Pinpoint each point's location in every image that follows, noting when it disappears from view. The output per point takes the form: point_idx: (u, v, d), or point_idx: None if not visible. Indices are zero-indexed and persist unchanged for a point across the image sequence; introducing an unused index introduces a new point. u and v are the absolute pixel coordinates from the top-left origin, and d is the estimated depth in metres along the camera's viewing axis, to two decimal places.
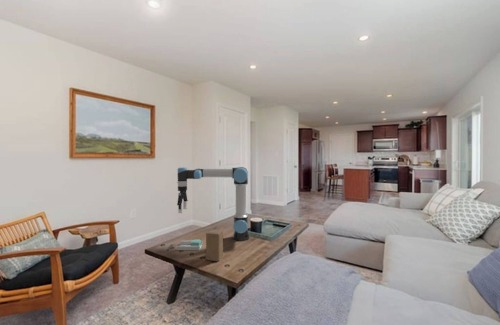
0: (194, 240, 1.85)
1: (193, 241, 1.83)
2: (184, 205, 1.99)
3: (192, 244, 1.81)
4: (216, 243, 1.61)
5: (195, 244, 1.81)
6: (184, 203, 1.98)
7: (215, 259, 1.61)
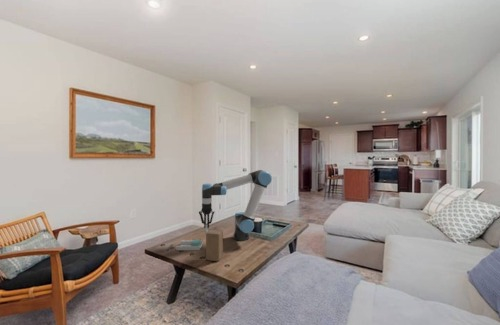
0: (194, 240, 1.85)
1: (193, 241, 1.83)
2: None
3: (192, 244, 1.81)
4: (216, 243, 1.61)
5: (195, 244, 1.81)
6: None
7: (215, 259, 1.61)
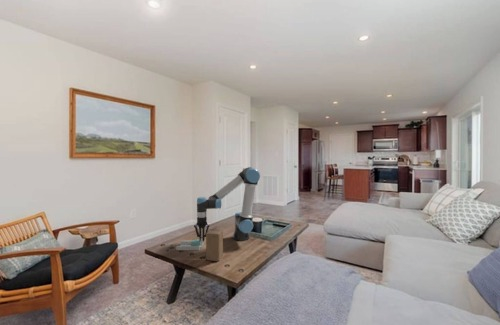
0: (194, 240, 1.85)
1: (193, 241, 1.83)
2: None
3: (192, 244, 1.81)
4: (216, 243, 1.61)
5: (195, 244, 1.81)
6: None
7: (215, 259, 1.61)
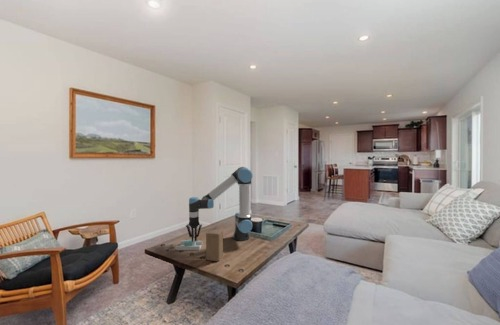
0: (187, 240, 1.85)
1: (186, 241, 1.83)
2: None
3: (185, 244, 1.81)
4: (216, 243, 1.61)
5: (188, 244, 1.81)
6: None
7: (215, 259, 1.61)
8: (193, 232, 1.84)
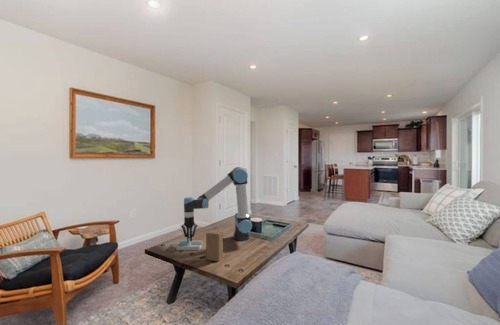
0: (183, 240, 1.85)
1: (182, 241, 1.83)
2: None
3: (181, 244, 1.81)
4: (216, 243, 1.61)
5: (184, 244, 1.81)
6: None
7: (215, 259, 1.61)
8: (188, 232, 1.84)
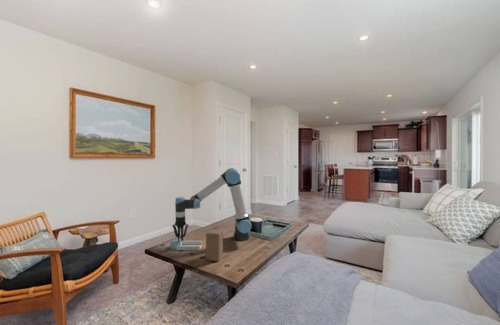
0: (174, 240, 1.86)
1: (172, 241, 1.84)
2: None
3: (171, 244, 1.81)
4: (216, 243, 1.61)
5: (174, 244, 1.81)
6: None
7: (215, 259, 1.61)
8: (179, 232, 1.84)
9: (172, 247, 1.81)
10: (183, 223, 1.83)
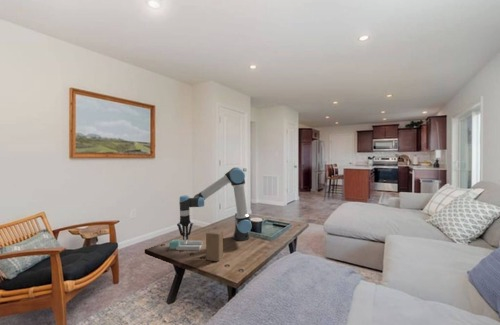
0: (173, 240, 1.86)
1: (172, 241, 1.83)
2: None
3: (170, 244, 1.81)
4: (216, 243, 1.61)
5: (173, 244, 1.81)
6: None
7: (215, 259, 1.61)
8: (184, 230, 1.85)
9: (171, 247, 1.81)
10: (188, 222, 1.83)
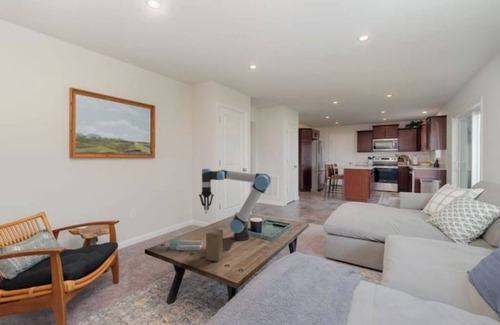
0: (173, 240, 1.86)
1: (172, 241, 1.83)
2: None
3: (170, 244, 1.81)
4: (216, 243, 1.61)
5: (173, 244, 1.81)
6: None
7: (215, 259, 1.61)
8: (205, 201, 1.98)
9: (171, 247, 1.81)
10: (209, 193, 1.96)
